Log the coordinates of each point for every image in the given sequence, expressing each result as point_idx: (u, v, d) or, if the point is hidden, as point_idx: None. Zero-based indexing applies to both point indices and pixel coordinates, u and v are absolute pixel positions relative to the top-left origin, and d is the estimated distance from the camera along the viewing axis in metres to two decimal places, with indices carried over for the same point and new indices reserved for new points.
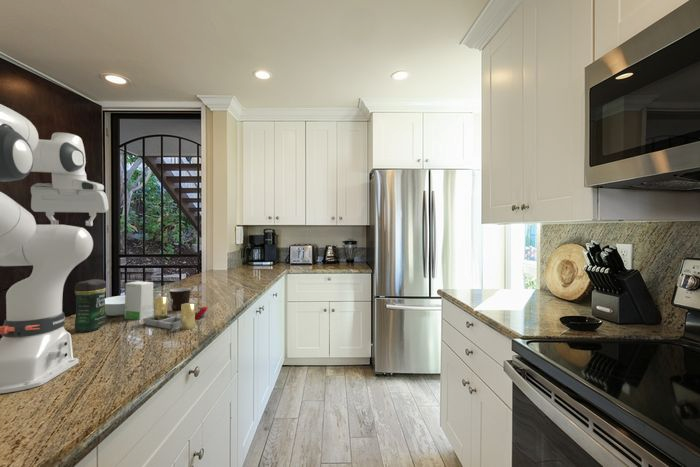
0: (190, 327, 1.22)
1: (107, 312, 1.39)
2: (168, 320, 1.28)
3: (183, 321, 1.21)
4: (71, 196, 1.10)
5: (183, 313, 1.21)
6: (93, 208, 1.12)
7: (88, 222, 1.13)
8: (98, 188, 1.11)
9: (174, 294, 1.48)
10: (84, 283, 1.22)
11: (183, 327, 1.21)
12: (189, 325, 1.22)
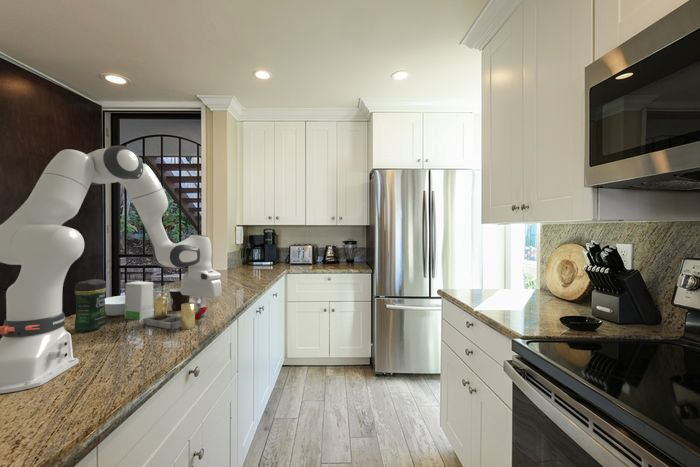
0: (190, 327, 1.22)
1: (107, 312, 1.39)
2: (168, 320, 1.28)
3: (183, 321, 1.21)
4: (198, 284, 1.36)
5: (183, 313, 1.21)
6: (208, 294, 1.34)
7: (200, 304, 1.37)
8: (210, 278, 1.32)
9: (174, 294, 1.48)
10: (84, 283, 1.22)
11: (183, 327, 1.21)
12: (189, 325, 1.22)
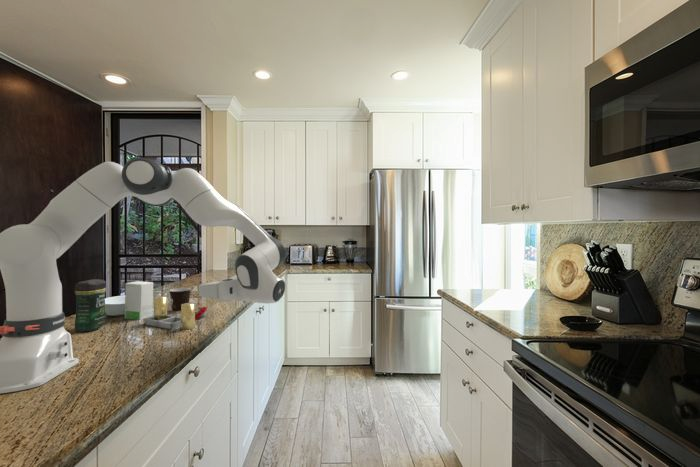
0: (190, 327, 1.22)
1: (107, 312, 1.39)
2: (168, 320, 1.28)
3: (183, 321, 1.21)
4: None
5: (183, 313, 1.21)
6: (208, 283, 1.09)
7: None
8: (219, 284, 1.05)
9: (174, 294, 1.48)
10: (84, 283, 1.22)
11: (183, 327, 1.21)
12: (189, 325, 1.22)
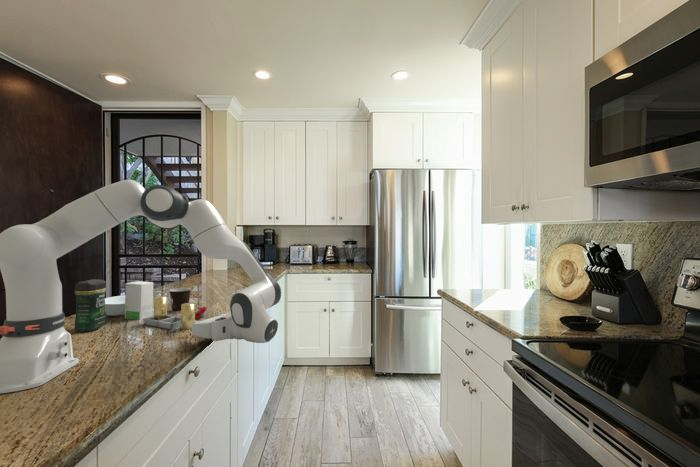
0: (190, 327, 1.22)
1: (107, 312, 1.39)
2: (168, 320, 1.28)
3: (183, 321, 1.21)
4: None
5: (183, 313, 1.21)
6: (202, 321, 1.10)
7: (196, 321, 1.14)
8: (212, 323, 1.06)
9: (174, 294, 1.48)
10: (84, 283, 1.22)
11: (183, 327, 1.21)
12: (189, 325, 1.22)
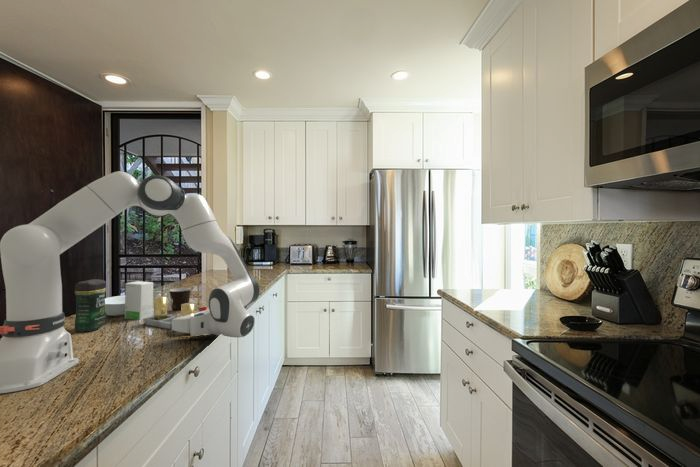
0: None
1: (107, 312, 1.39)
2: (168, 320, 1.28)
3: None
4: None
5: (183, 313, 1.21)
6: (181, 317, 1.15)
7: (181, 315, 1.20)
8: (190, 319, 1.10)
9: (174, 294, 1.48)
10: (84, 283, 1.22)
11: None
12: None
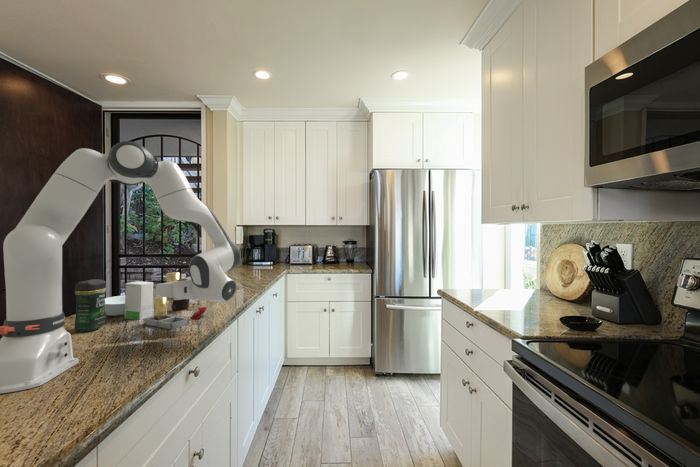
0: None
1: (107, 312, 1.39)
2: (168, 320, 1.28)
3: None
4: None
5: (168, 281, 1.24)
6: None
7: None
8: (173, 283, 1.13)
9: None
10: (84, 283, 1.22)
11: None
12: None
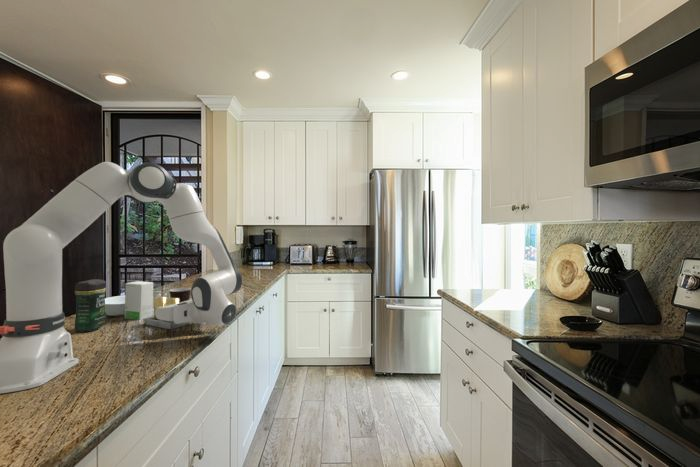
0: None
1: (107, 312, 1.39)
2: None
3: None
4: None
5: None
6: (166, 306, 1.18)
7: (161, 306, 1.22)
8: (173, 307, 1.14)
9: (174, 294, 1.48)
10: (84, 283, 1.22)
11: (168, 321, 1.25)
12: None
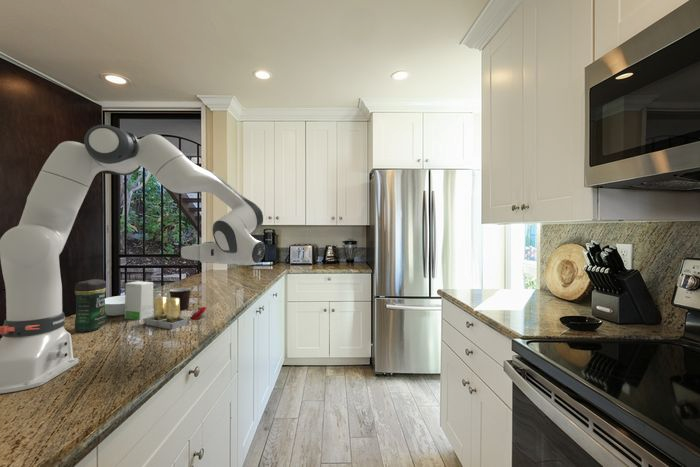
0: (175, 321, 1.25)
1: (107, 312, 1.39)
2: None
3: (168, 315, 1.24)
4: None
5: (168, 308, 1.24)
6: None
7: None
8: (200, 245, 1.08)
9: (174, 294, 1.48)
10: (84, 283, 1.22)
11: (168, 321, 1.25)
12: (174, 319, 1.25)
